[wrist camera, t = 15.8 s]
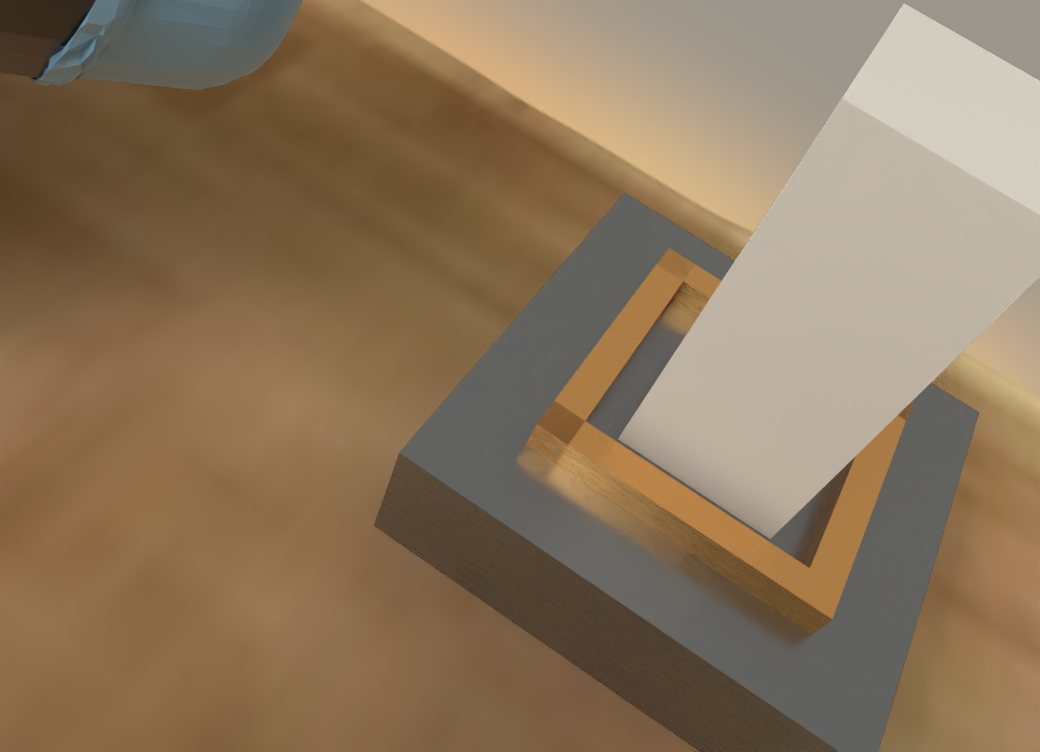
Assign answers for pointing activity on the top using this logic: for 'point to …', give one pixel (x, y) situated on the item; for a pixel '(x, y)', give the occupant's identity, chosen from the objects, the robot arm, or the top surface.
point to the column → (857, 277)
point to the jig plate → (673, 517)
